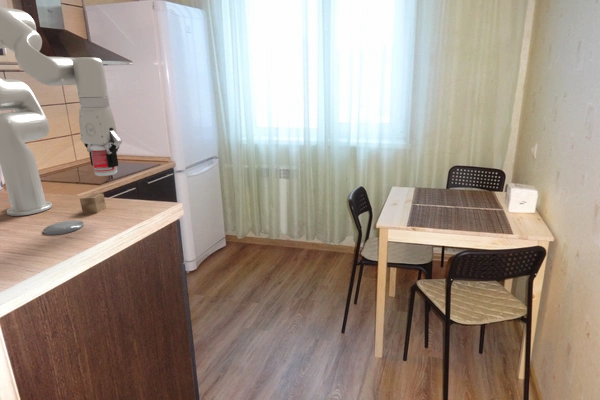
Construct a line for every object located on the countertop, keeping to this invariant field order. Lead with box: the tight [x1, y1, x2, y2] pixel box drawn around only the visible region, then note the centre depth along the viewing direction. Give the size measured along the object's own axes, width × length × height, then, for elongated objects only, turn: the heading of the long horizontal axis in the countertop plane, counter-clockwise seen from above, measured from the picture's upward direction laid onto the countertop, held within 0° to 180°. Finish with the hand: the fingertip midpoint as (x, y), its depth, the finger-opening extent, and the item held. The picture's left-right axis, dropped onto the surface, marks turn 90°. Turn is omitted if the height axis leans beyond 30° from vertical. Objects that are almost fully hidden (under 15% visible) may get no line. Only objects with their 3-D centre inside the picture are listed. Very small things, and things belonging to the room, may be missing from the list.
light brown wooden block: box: [79, 193, 107, 214], centre depth 130 cm, size 5×5×5 cm
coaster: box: [42, 219, 85, 236], centre depth 115 cm, size 10×10×1 cm
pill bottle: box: [90, 142, 118, 177], centre depth 118 cm, size 6×6×11 cm
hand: (104, 165), depth 119 cm, fingers closed on pill bottle, 6 cm apart
